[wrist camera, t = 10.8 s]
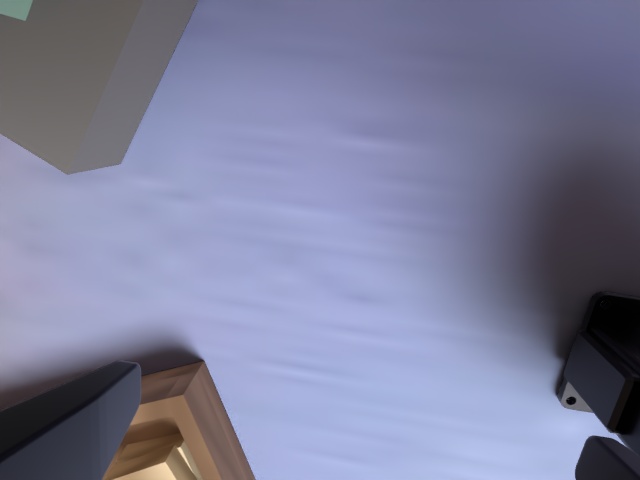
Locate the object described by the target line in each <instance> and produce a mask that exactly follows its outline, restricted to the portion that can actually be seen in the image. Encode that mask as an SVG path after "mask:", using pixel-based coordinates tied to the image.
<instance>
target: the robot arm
mask: <svg viewBox="0 0 640 480" xmlns="http://www.w3.org/2000/svg"><path fill="white" fill-rule="evenodd" d="M604 300H607V302H606V304H605V305H603V306H600V304H601V302H602V301H604ZM563 374H564V379H563V381H562V384H561V387H560V390H559V393H558V400H559V401H560V403H561V404H562V406H564V407H565V408H567V409H572V410H578V411H584V412H591V413H594V414H595V415H596V417H597V418H598V419H599V420H600V421H601V423H602V424H603V425H604V426H605V428H606V429H607V430H608V431H609V432H610V433H615V434H616V435H617V436H618V437H619V438H620V440H621V441H622V442H623V443H624V444H625V446H626V447H625V446H624V445H622V444H621V443H619V442H618V441H616V440H614V439H612V438H607V437H600V436H590V437H589V438H588V439H587V440H586V442H585V444H584V447H583V450H582V452H581V455H580V457H579V460H578V463H577V465H576V469H575V478H576V480H640V297H635V296H629V295H622V294H615V293H609V292H599V293H596V294H595V295H594V296H593V297H592V299H591V301H590V304H589V307H588V309H587V312H586V315H585V318H584V321H583V324H582V327H581V330H580V331H579V332H578V333H577V335H576V338H575V341H574V344H573V347H572V350H571V353H570V356H569V359H568V362H567V364H566V367H565V370H564V373H563ZM569 397H572V398H571V399H570V400H567V398H569ZM140 401H141V367H140V365H139V364H138V363H135V362H128V361H122V360H120V361H116V362H114V363H112V364H109V365H107V366H105V367H102V368H100V369H98V370H95V371H93V372H90V373H88V374H86V375H83V376H81V377H79V378H76V379H74V380H72V381H69V382H67V383H65V384H62V385H60V386H58V387H55V388H53V389H50V390H48V391H46V392H43V393H41V394H39V395H36V396H34V397H32V398H29V399H27V400H25V401H22V402H20V403H17V404H15V405H13V406H10V407H8V408H6V409H3V410H1V411H0V480H102V479H103V477H104V475H105V473H106V471H107V469H108V468H109V466H110V464H111V462H112V460H113V458H114V456H115V454H116V452H117V450H118V448H119V446H120V444H121V442H122V440H123V438H124V436H125V434H126V432H127V430H128V428H129V426H130V424H131V422H132V420H133V418H134V416H135V414H136V412H137V410H138V408H139V405H140Z"/></svg>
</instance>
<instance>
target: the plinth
mask: <svg viewBox="0 0 640 480" xmlns="http://www.w3.org/2000/svg"><path fill="white" fill-rule="evenodd" d="M197 2H198V0H33V2H32V4H31V7H30V10H29V13H28V16H27V18H26V21H24V20H20V19H17V18H14V17H10V16H7V15H3V14H0V134H2V135H4V136H5V137H7V138H8V139H10V140H12V141H13V142H15V143H17V144H18V145H20V146H21V147H23V148H25V149H26V150H28V151H30V152H31V153H33V154H34V155H36V156H38V157H39V158H41V159H43V160H44V161H46V162H48V163H49V164H51V165H52V166H54V167H56V168H57V169H59V170H61V171H62V172H64V173H65V174H67V175H68V174H73V173H78V172H83V171H88V170H93V169H98V168H103V167H108V166H113V165H118V164H121V162H122V160H123V158H124V155H125V153H126V151H127V149H128V147H129V145H130V143H131V141H132V139H133V137H134V134H135V132H136V130H137V128H138V126H139V124H140V122H141V120H142V118H143V115H144V113H145V111H146V109H147V107H148V105H149V103H150V101H151V99H152V97H153V94H154V92H155V90H156V88H157V86H158V84H159V82H160V80H161V78H162V75H163V73H164V71H165V69H166V67H167V65H168V63H169V61H170V59H171V57H172V54H173V52H174V50H175V48H176V46H177V44H178V42H179V40H180V38H181V35H182V33H183V31H184V29H185V27H186V25H187V23H188V21H189V19H190V17H191V14H192V12H193V10H194V8H195V6H196V4H197Z"/></svg>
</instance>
